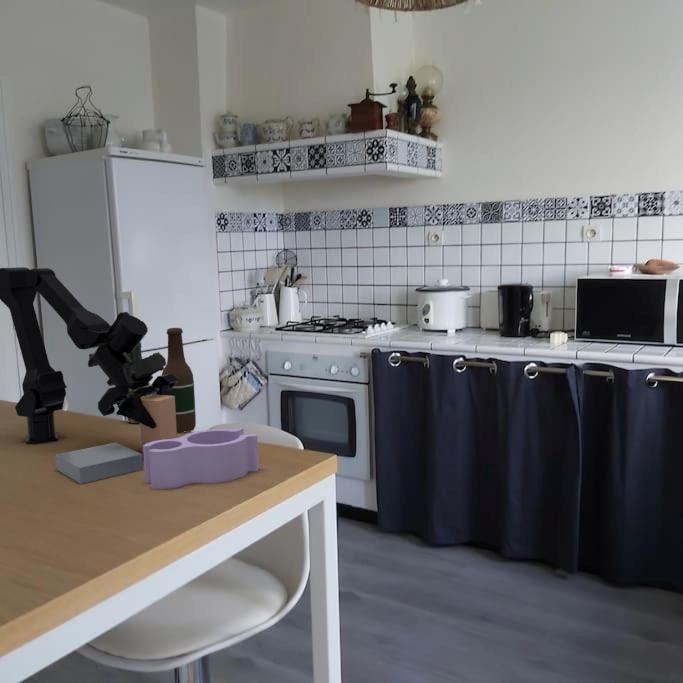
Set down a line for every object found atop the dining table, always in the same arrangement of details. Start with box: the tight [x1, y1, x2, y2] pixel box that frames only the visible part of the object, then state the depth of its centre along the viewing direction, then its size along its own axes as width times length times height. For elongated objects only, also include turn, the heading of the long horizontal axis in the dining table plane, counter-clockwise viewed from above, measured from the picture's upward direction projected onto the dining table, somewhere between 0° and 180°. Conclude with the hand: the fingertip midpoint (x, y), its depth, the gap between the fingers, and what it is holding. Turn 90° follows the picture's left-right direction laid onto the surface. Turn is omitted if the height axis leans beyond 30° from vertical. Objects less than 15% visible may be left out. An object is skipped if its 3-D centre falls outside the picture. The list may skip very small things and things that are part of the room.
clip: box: [143, 426, 260, 490], centre depth 128 cm, size 20×12×7 cm, turn 122°
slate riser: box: [55, 442, 144, 485], centre depth 132 cm, size 12×12×3 cm
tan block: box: [139, 395, 178, 458], centre depth 141 cm, size 5×5×12 cm
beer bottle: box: [161, 327, 197, 434], centre depth 161 cm, size 8×8×24 cm
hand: (163, 424), depth 140 cm, fingers closed on tan block, 5 cm apart
